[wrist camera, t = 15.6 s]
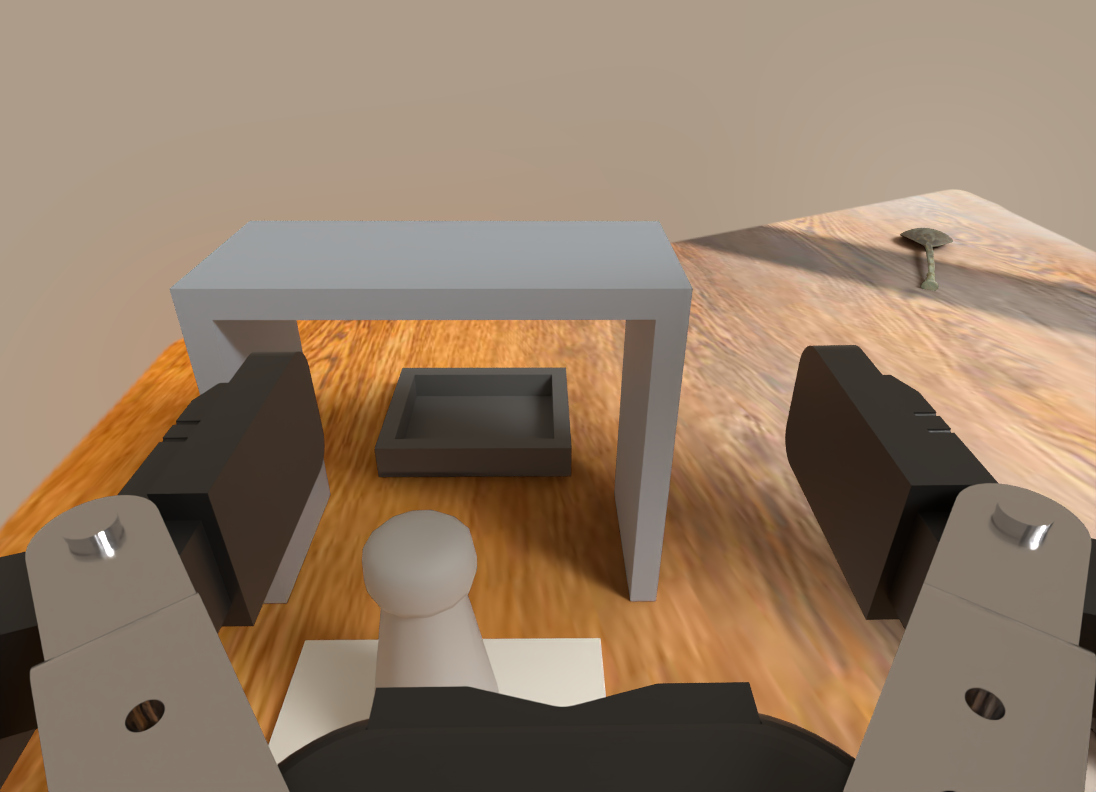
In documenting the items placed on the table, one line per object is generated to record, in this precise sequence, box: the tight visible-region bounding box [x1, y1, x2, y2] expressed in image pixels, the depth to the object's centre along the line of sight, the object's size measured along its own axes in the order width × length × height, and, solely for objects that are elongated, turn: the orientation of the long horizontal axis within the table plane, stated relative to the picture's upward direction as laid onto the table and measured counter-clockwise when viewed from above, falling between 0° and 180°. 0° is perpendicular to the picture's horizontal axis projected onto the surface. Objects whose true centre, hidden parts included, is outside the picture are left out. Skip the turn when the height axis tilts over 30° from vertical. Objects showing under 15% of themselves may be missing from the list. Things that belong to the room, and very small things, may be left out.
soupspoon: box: [900, 228, 953, 291], centre depth 91 cm, size 22×3×7 cm
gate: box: [170, 221, 693, 603], centre depth 40 cm, size 23×10×20 cm, turn 91°
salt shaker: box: [362, 510, 499, 695], centre depth 30 cm, size 6×6×13 cm
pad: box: [268, 638, 606, 764], centre depth 32 cm, size 16×14×1 cm
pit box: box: [375, 368, 571, 477], centre depth 56 cm, size 14×12×2 cm
